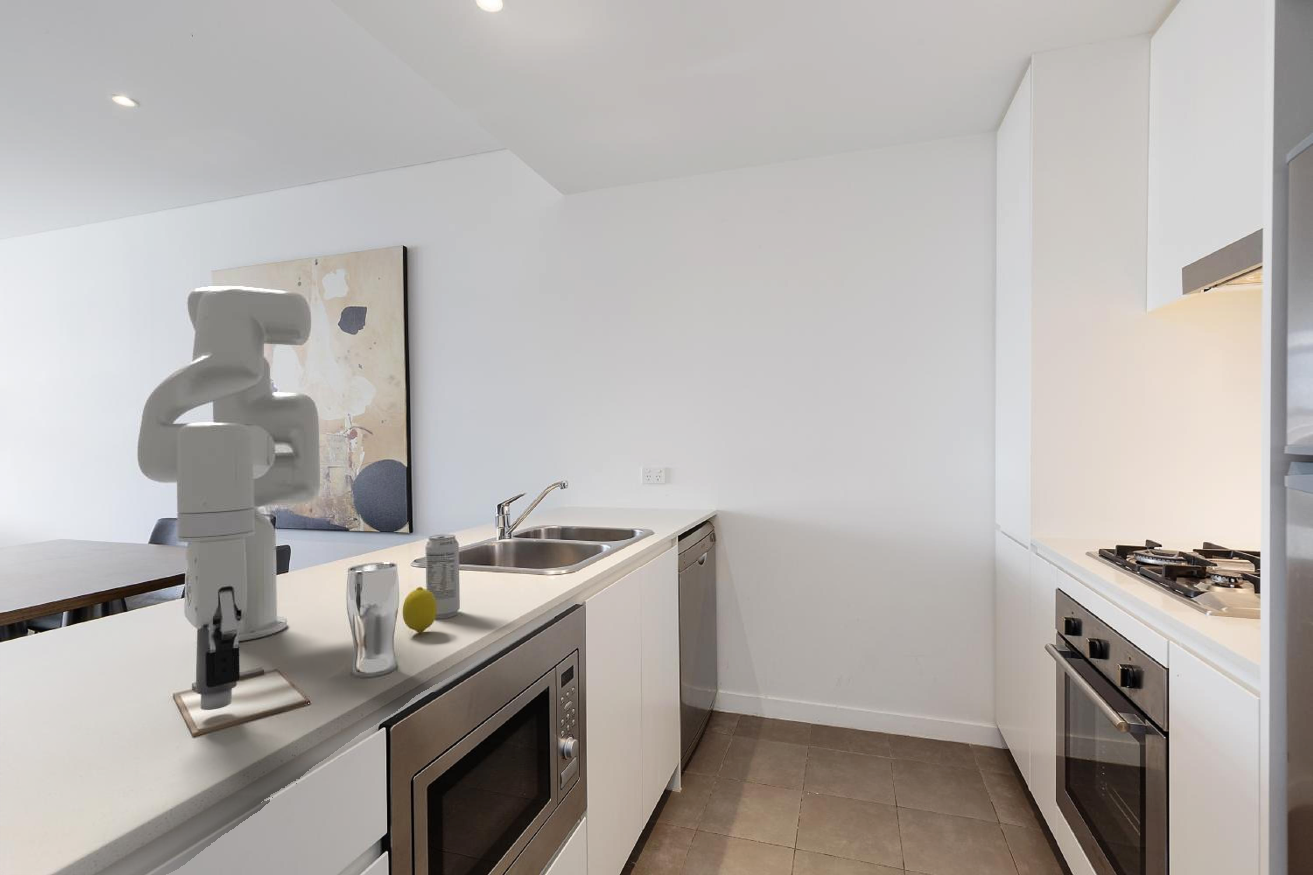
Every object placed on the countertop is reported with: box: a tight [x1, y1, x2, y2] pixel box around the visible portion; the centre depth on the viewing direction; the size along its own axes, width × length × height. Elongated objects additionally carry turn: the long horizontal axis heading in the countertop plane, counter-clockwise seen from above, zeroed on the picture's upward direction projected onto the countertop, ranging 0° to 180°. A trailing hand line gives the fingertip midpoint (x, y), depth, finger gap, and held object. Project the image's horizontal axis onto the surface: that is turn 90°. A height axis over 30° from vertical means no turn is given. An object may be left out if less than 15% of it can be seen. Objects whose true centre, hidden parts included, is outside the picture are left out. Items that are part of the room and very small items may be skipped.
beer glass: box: [345, 561, 400, 679], centre depth 89 cm, size 7×7×15 cm
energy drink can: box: [425, 534, 461, 619], centre depth 117 cm, size 6×6×15 cm
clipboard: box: [172, 666, 311, 738], centre depth 79 cm, size 16×12×1 cm
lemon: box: [402, 586, 437, 634], centre depth 106 cm, size 6×6×8 cm
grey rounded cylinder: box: [195, 608, 239, 710], centre depth 73 cm, size 4×4×12 cm
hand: (219, 676), depth 73 cm, fingers closed on grey rounded cylinder, 3 cm apart
